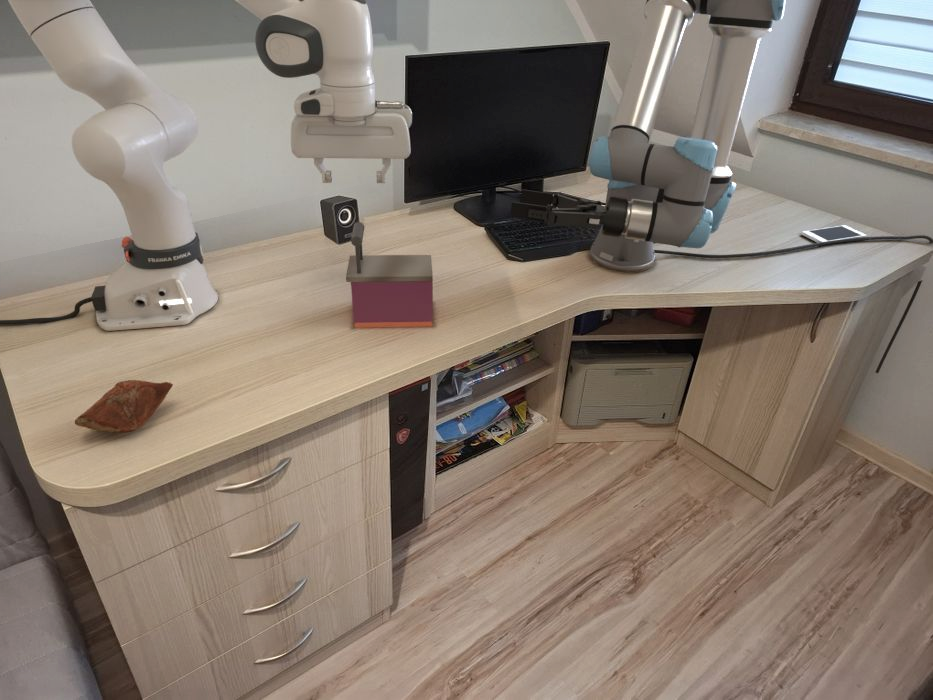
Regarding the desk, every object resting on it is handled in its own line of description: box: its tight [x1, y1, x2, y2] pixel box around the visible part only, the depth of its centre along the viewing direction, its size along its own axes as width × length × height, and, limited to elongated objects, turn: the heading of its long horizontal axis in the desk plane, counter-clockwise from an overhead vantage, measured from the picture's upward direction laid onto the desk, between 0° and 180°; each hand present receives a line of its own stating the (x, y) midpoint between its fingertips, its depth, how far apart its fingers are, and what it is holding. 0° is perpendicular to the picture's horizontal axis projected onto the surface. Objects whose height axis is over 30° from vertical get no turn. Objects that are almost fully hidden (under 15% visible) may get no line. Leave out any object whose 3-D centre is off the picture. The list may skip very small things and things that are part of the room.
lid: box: [345, 221, 434, 283], centre depth 121 cm, size 16×9×9 cm, turn 94°
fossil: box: [74, 379, 174, 434], centre depth 97 cm, size 13×8×10 cm
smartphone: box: [801, 224, 867, 243], centre depth 170 cm, size 7×16×1 cm, turn 111°
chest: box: [350, 280, 434, 329], centre depth 126 cm, size 15×9×10 cm, turn 95°
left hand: (354, 182), depth 113 cm, fingers open, 8 cm apart
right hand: (515, 202), depth 125 cm, fingers open, 13 cm apart
